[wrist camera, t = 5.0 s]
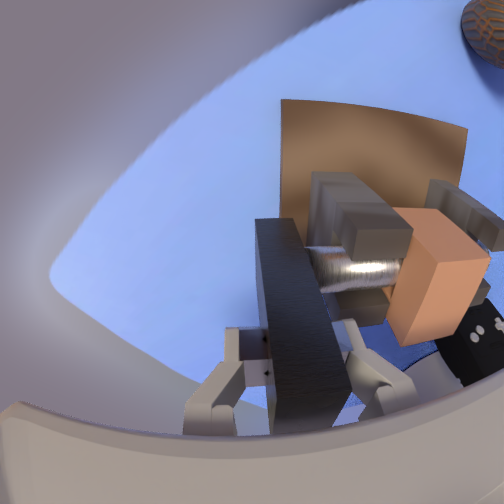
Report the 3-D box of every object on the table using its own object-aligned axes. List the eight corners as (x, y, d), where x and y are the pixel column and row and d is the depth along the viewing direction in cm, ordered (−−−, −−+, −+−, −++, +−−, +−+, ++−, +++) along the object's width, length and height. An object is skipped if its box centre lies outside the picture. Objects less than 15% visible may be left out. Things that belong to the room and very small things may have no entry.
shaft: (454, 265, 17) (526, 362, 9) (255, 279, 17) (270, 444, 8) (470, 218, 15) (561, 311, 7) (254, 218, 15) (277, 399, 6)
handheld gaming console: (488, 293, 29) (556, 399, 12) (473, 317, 31) (532, 421, 14) (436, 295, 27) (515, 437, 11) (420, 323, 30) (483, 459, 13)
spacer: (415, 278, 17) (452, 334, 13) (367, 283, 17) (400, 347, 13) (436, 209, 14) (491, 257, 10) (385, 207, 14) (438, 262, 10)
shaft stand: (423, 278, 26) (468, 343, 18) (276, 289, 25) (292, 380, 17) (460, 126, 17) (542, 162, 9) (280, 99, 17) (320, 107, 9)
